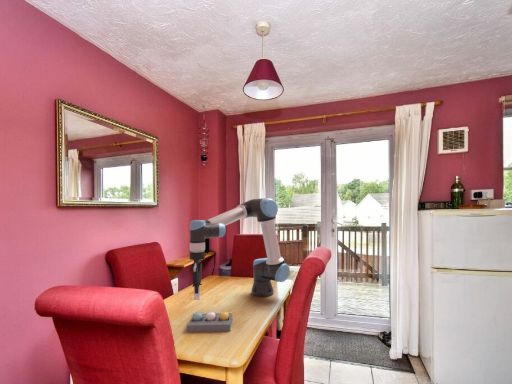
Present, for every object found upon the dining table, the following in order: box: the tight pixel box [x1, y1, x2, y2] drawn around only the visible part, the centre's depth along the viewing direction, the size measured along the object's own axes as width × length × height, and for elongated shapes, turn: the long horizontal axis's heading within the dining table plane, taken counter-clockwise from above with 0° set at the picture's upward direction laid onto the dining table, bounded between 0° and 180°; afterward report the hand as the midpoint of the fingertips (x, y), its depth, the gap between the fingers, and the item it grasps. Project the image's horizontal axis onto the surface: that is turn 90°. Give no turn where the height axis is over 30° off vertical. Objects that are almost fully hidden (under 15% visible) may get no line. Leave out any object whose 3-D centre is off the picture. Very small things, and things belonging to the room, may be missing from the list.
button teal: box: [192, 311, 203, 321], centre depth 131 cm, size 4×4×3 cm
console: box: [186, 312, 233, 333], centre depth 131 cm, size 20×14×3 cm
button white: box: [205, 311, 216, 321], centre depth 131 cm, size 4×4×3 cm
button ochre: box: [219, 311, 230, 321], centre depth 132 cm, size 4×4×3 cm
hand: (197, 299), depth 132 cm, fingers closed
